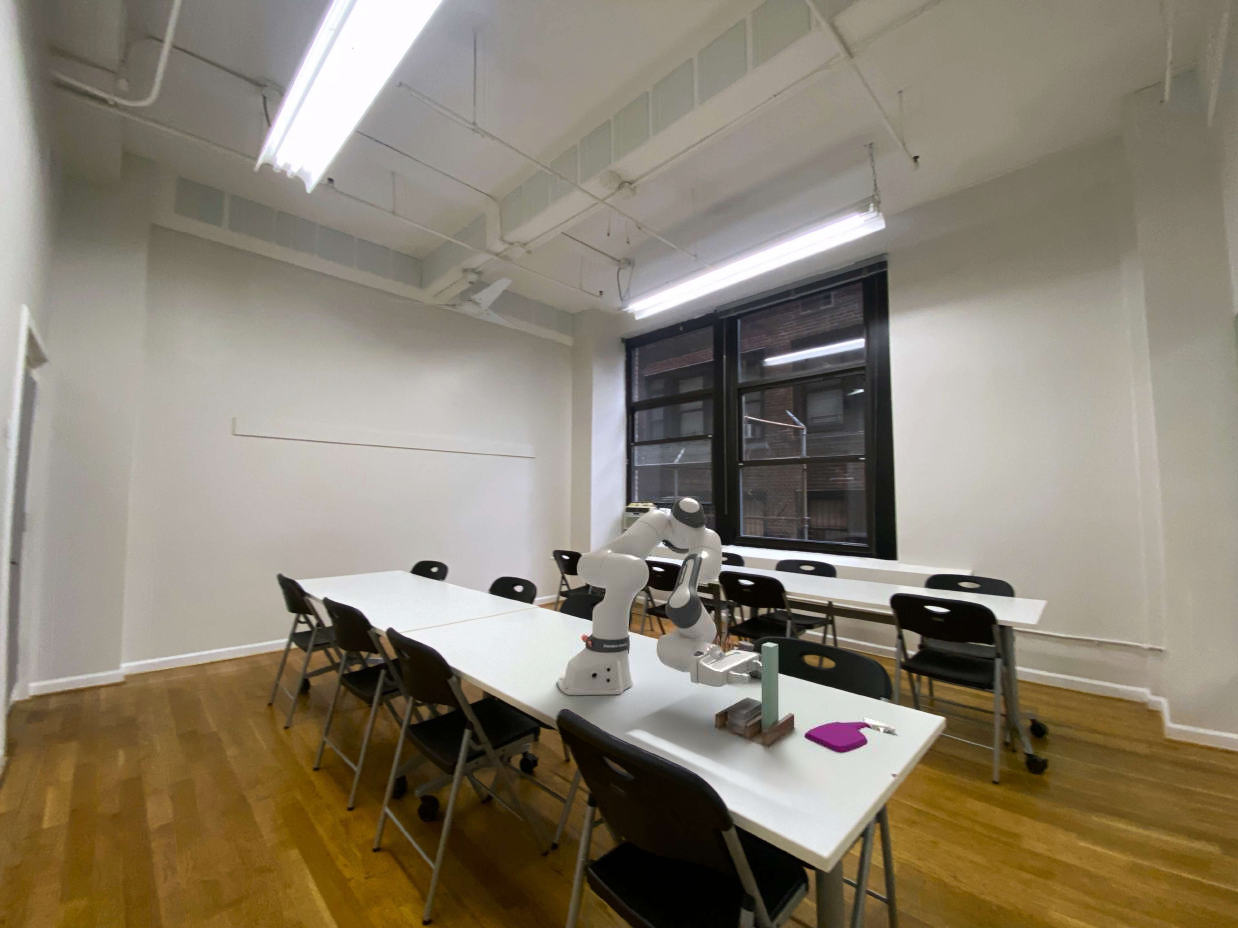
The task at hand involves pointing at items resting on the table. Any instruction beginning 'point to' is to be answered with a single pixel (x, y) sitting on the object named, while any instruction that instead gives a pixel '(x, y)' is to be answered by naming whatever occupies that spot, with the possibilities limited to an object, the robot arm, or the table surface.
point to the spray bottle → (844, 734)
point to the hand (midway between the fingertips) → (758, 674)
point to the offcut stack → (742, 714)
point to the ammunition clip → (723, 647)
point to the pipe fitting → (749, 647)
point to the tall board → (769, 685)
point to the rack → (758, 728)
